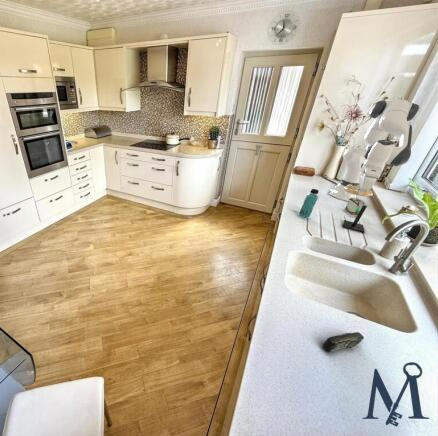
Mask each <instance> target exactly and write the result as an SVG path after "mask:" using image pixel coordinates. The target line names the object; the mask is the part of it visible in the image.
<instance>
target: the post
mask: <svg viewBox="0 0 438 436" xmlns="http://www.w3.org/2000/svg"><path fill="white" fill-rule="evenodd" d="M367 207H368V206H367V205H366V204H365V205H363V206H362V208H361V210H360V211H359V213H358V215H356V216H355V219H354V220H353V221H349V220H346V219H343V223H342V226H343V229H346V230H351V231H354V232H358V233H361V234H364V233H365V228H364V224H362V223H359V221H360V220H361V218H362V216H363V215H364V213H365V211H366V209H367Z"/></svg>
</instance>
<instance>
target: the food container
mask: <svg viewBox="0 0 438 436" xmlns="http://www.w3.org/2000/svg"><path fill="white" fill-rule="evenodd" d="M356 198H357V197H356ZM356 198H351V197H350V198H349V201H347V203H346V205H345V208H344V210H345V211H346V212H348V214H350V215H351V217H357V215H358V213H359V211H360V210H361V208H362V206H363V205H366V202H365V201H363V200H361V199H359V198H357V199H356Z"/></svg>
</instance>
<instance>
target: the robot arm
mask: <svg viewBox="0 0 438 436" xmlns="http://www.w3.org/2000/svg"><path fill="white" fill-rule="evenodd" d="M419 111H420V105H419V104H417V103H414V102H409V100H407V99H401V98H400V99H396V100H378V101H376V102H375V103H374V104H373V105H372V106H371V107H370V109H369V117H370V118H372V119H374V120H373V121H372V122H371V125H370V126H369V128H368V130H367V131H366V133H365V135H364V138H363V140H364V141H365V142H366V143H367V144H366V147H350V148H347V149H345V152H344V153H343V155H342V158H343V160H344V162H345V164H346V169H345V172H344V175H343V177H342V178H341V180H340V181H339V183H337V182H335V181H334V180H331V179H329V178H328V177H327V174H326V175H325V174H324V175H325V176H324V175H323V176H322V177H323V179H324V180H327V181H329V182H331V183H333V184H335V185H334V186H333V188H330V189H329V190H330V192H329V193H328V195H329V196H332V197H334V198H335V199H338V200H342V201H347V202H348V201H349V198H350V197H351V198H356V199H358V198H357V196H358V195H354V194H351V193H348V192H346V191H345V190H344V187H345V186H349V185H350V186H358V187H359V188H358V190H355V191H358V194H362V193H363V191H364V190H367V191H369V190H370V191H371V189H372V187H373V186H374V185H375V183H376V181H377V180H378V179H379V178H380V177H381V174H382V172H383V170H384V168H385V166H386V165H390V166H393V167H400V166H403V165H405V164H407V163H408V162H409V161H410V159H411V156H412V139H413V138H412V136H413V125H412V124H411V123H409V121H412V120H413V119H414V118H415V117H417V115H418V114H419ZM389 135H392V136H394V137H396V138H398V146H396V143H395V141H392V140H388V139H387V137H388V136H389Z"/></svg>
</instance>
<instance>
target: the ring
mask: <svg viewBox="0 0 438 436" xmlns="http://www.w3.org/2000/svg"><path fill="white" fill-rule="evenodd" d="M358 188H359V187H358V186H350V185H349V186H345V187H344V190H345V191H346V192H348V193H351V194H354V195H357V196H358V197H371V196H373V195H374V193H373V191H372V190H371V189H370V190H369V191H367V190H364V191H363V193H362V194H358V191H355V190H358Z"/></svg>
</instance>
